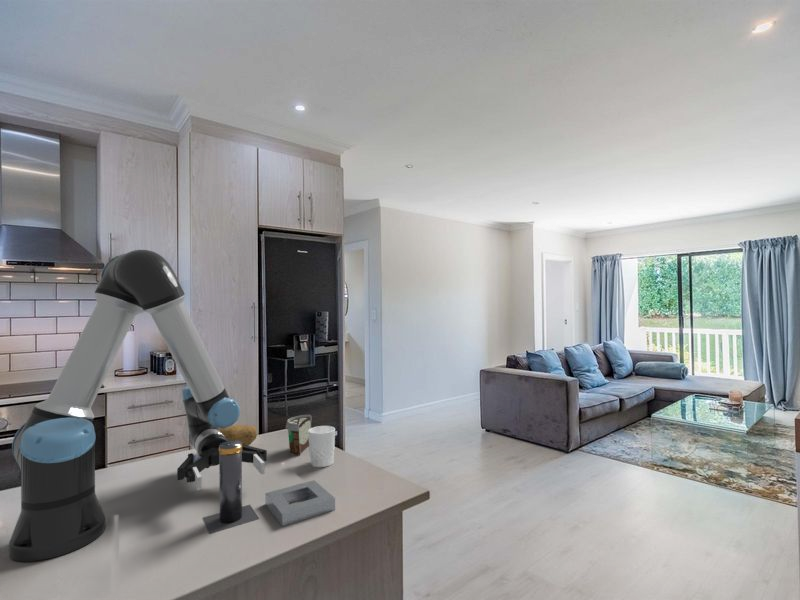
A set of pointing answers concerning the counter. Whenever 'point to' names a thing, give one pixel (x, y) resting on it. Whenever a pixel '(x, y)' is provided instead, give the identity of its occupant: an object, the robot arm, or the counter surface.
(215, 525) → the mount
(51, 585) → the counter surface
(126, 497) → the counter surface
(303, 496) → the socket
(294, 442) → the food container
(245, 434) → the potato
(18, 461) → the robot arm
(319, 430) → the white cup
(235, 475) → the cylinder
